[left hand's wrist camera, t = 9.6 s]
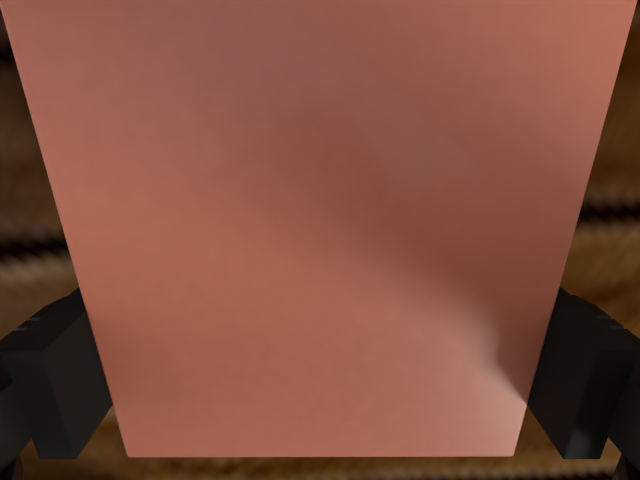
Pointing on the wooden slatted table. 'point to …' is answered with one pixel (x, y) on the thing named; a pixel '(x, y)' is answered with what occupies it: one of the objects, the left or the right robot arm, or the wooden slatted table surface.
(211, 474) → the wooden slatted table surface
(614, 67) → the cabinet
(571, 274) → the wooden slatted table surface
